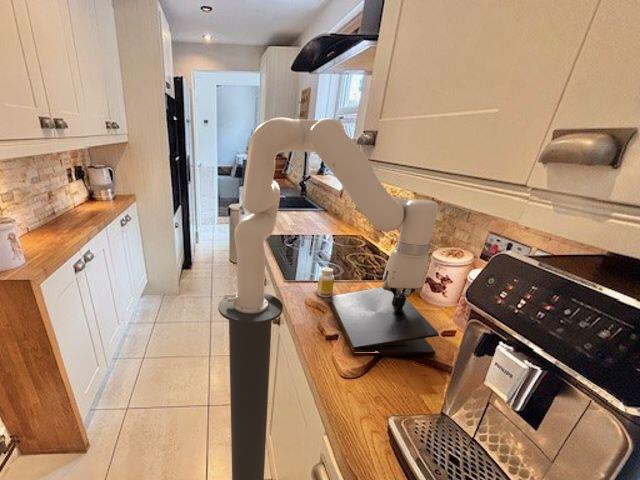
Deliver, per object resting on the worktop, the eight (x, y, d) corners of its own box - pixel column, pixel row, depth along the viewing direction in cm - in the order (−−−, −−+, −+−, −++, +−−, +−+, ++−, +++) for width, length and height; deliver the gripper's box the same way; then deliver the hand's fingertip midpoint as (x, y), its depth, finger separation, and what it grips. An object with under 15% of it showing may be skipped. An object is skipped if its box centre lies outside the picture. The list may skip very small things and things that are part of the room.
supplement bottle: (335, 295, 118) (338, 270, 114) (324, 298, 116) (327, 273, 111) (324, 290, 122) (328, 265, 118) (313, 293, 120) (316, 268, 115)
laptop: (391, 304, 112) (392, 299, 111) (434, 357, 85) (436, 351, 84) (329, 303, 113) (330, 298, 112) (353, 355, 86) (354, 349, 85)
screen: (393, 286, 109) (393, 284, 108) (438, 336, 82) (438, 333, 82) (330, 298, 112) (330, 296, 111) (354, 350, 85) (353, 347, 85)
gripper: (433, 244, 90) (417, 302, 99) (378, 243, 91) (367, 301, 99) (447, 252, 84) (429, 314, 92) (388, 252, 84) (375, 313, 93)
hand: (397, 307), depth 96 cm, fingers closed
